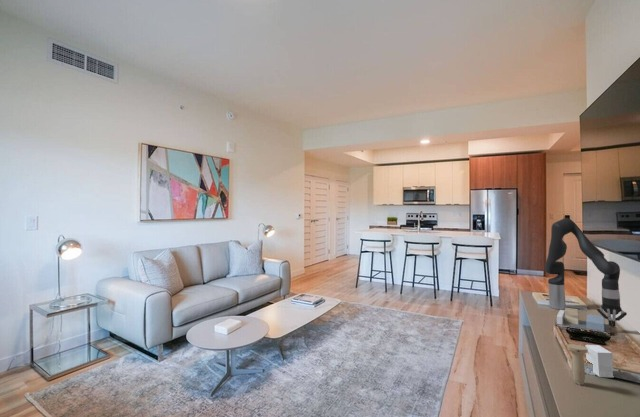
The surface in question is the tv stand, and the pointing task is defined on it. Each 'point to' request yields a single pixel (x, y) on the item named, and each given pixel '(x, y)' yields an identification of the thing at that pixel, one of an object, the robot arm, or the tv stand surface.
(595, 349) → the small box
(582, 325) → the panel
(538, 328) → the tv stand surface
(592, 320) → the vise jaw
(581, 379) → the handle
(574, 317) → the birch block
